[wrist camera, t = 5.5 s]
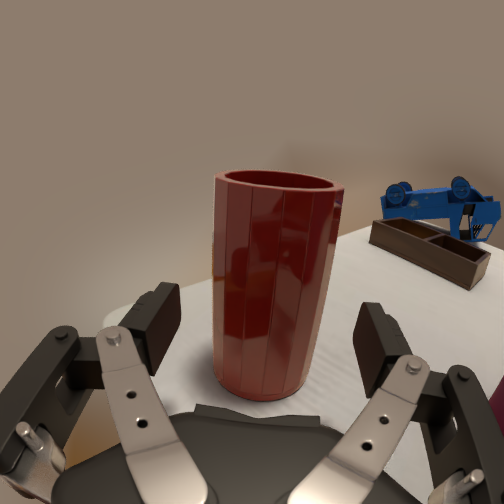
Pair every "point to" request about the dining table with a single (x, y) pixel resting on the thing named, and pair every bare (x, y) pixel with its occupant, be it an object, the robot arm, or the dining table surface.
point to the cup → (498, 404)
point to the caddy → (431, 250)
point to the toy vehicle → (443, 206)
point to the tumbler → (270, 276)
